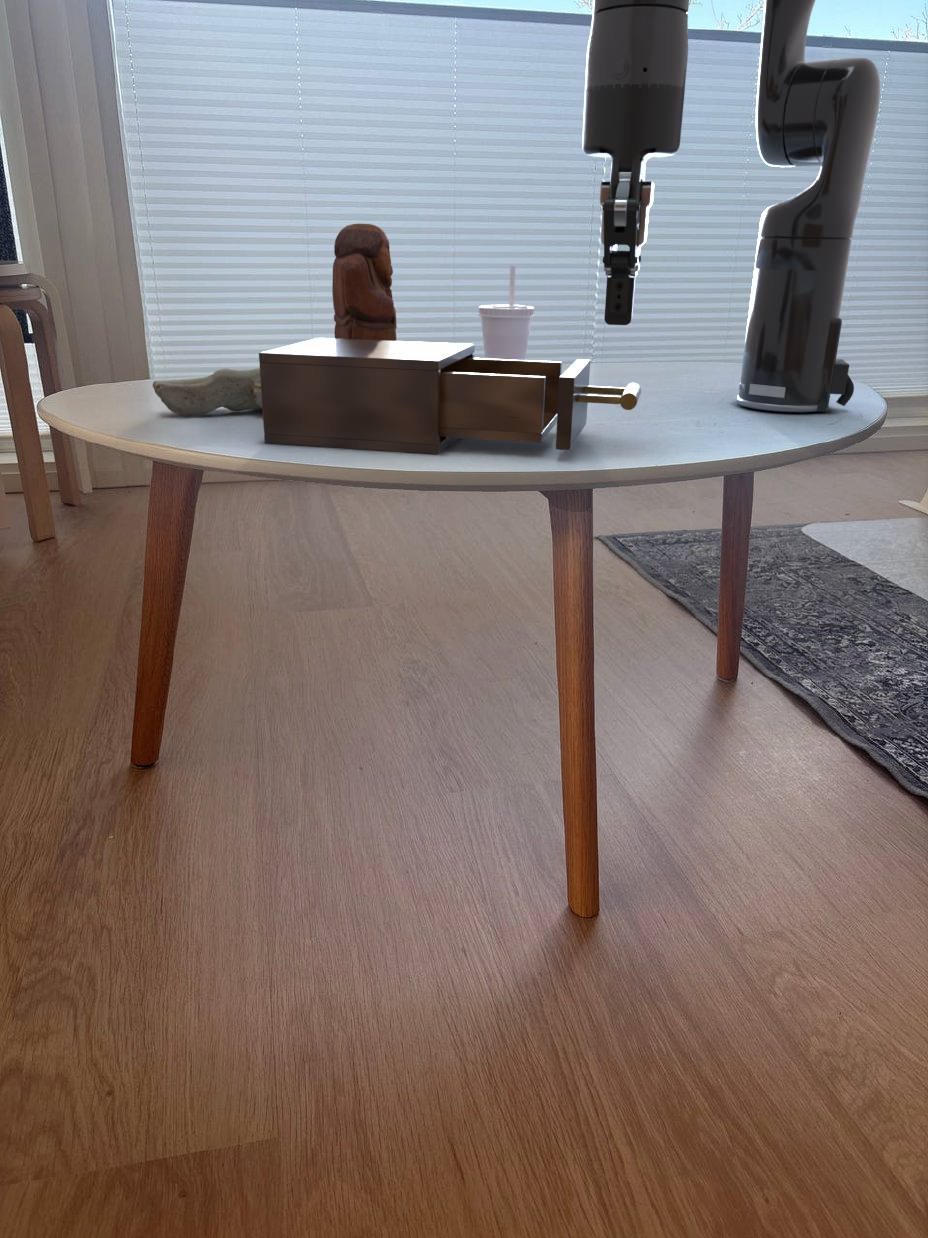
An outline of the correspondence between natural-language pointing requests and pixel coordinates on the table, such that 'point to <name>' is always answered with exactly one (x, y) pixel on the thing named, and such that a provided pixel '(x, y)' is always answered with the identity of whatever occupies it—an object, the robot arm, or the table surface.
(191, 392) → the sculpture
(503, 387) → the drawer
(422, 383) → the cabinet
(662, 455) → the table surface
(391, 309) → the wooden figurine
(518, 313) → the smoothie
